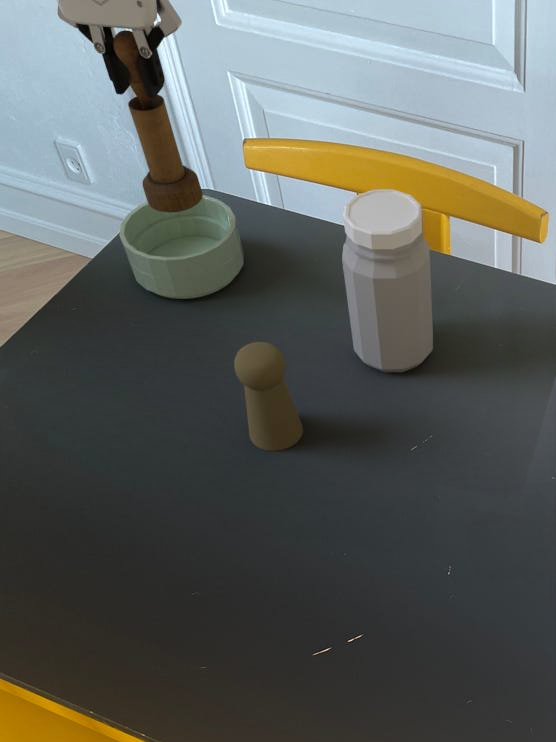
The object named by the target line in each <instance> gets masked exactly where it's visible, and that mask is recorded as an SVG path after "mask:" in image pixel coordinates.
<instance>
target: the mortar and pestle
mask: <svg viewBox="0 0 556 742" xmlns="http://www.w3.org/2000/svg"><path fill="white" fill-rule="evenodd" d="M113 46H114V50H115V53H116V55H117V56H118V58H119V59H120V60H121V61H122V62H123V63H124V65H125V66H126V67H127V68H128V69H129V72H130V78H129V80H128V81H129V84H130V86H129V87H130V88H131V90H132V92H133V93H134V95H135V97H133V98H131V99H130V100H129V101H128V103H127V106H128V110H129V112H130V115H131V119H132V121H133V124H134V126H135V131H136V133H137V136H138V139H139V142H140V146H141V149H142V152H143V154H144V158H145V161H146V164H147V168H148V172H147V174H146V175H145V176H144V178H143V180H142V189H143V192H144V195H145V198H146V202H148V204H149V205H150V207H152V208H153V209H155V210H157V211H161V212H169V213H172V212H180V211H184V210H187V209H190V208H192V207H194V206H195V205H197V204H198V203H199V202H200V201H201V199H202V196H203V195H204V194H203V190H202V187H201V182H200V180H199V177H198V175H197V173H196V171H194V170H192V169H191V168H189V167H188V166H185V165H184V164H183V161H182V158H181V154H180V151H179V148H178V145H177V141H176V138H175V135H174V131H173V128H172V124H171V120H170V116H169V113H168V109H167V105H166V103H165V102H166V101H165V98H164V97H163V96H162V95H160V94H157V96H156V97H155V98H150V97H149V96H147V93H146V90H145V86H144V83H143V79H142V76H141V73H140V69H139V66H138V62H137V59H138V57H139V56H140V52H139V49H138V46H137V43H136V41H135V38H134V35H133V32H132V30H129V29H125V30H120V31H119V32H117V33H116V34H115V37H114V42H113Z"/></svg>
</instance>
